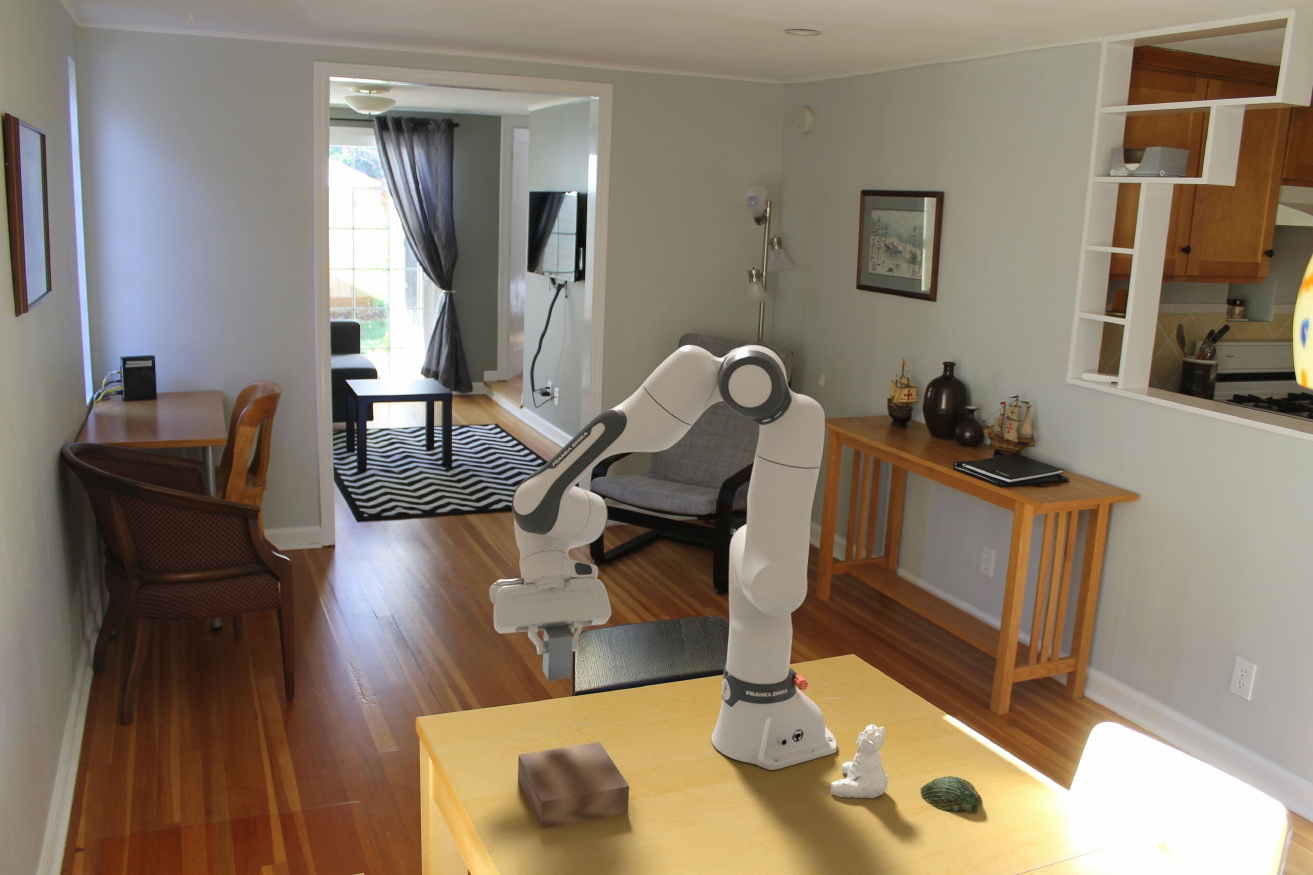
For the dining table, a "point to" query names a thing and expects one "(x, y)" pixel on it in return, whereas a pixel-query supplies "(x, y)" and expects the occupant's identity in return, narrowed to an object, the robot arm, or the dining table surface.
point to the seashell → (952, 795)
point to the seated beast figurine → (864, 768)
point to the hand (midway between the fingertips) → (558, 651)
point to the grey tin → (557, 652)
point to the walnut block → (572, 784)
